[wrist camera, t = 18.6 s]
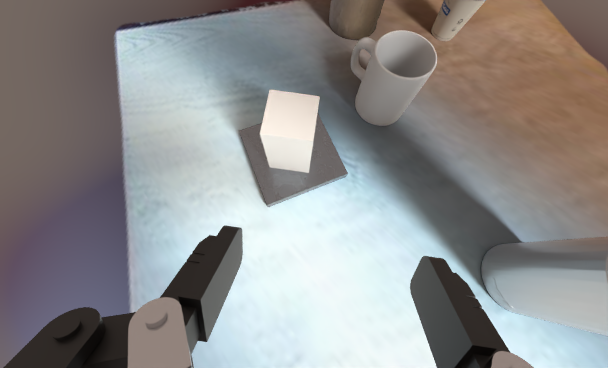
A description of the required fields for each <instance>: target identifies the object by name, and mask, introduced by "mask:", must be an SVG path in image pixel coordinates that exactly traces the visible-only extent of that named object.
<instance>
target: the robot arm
mask: <svg viewBox="0 0 608 368" xmlns="http://www.w3.org/2000/svg"><path fill="white" fill-rule="evenodd" d="M242 253H243V251H242V229H241V228H238V227H232V226H223V227H222V229H221V230H220V232H219V233H218V235H217V236H211V235H210V236H208V237H207V238H205V239H204V240H203V241H201V242H200V243H199V244H198V245H197V247H196V248H195V250H194V251H193V253H192V254H191V255H190V257H189V258H188V259H187V262H185V264H184V265H183V266H182V268H181V269H180V271H179V272H178V273H177V275H176V276H175V278H174V279H173V280H172V282H171V283H170V285H169V286H168V287H167V289H166V290H165V292H164V293H163V294H162V295H161V297H160V298H158V299H154V300H152V301H150V302H148V303H146V304H145V305H143V306H142V307H141V308H140V309H138V311H137V312H133V313H129V314H122V315H116V316H109V317H102V318H101V316H100V314H99V312H98V311H97V310H96V309H93V308H89V307H88V308H86V307H84V308H78V309H74V310H71V311H69V312H66V313H64V314H62V315H60V316H58V317H57V318H55V319H54V320H52V321H51V322H50V323H49V324H47V325H46V326H45V327H44V328H43V329H42V330H41V331H40V332H39V333H38V334H37V335H36V336H35V337H34V338H33V339H32V340H31V341H30V342H29V343H28V344H27V345H26V346H25V347H24V348H23V349H22V350H21V351H20V352H19V353H18V354H17V355H16V356H15V357H14V358H13V359H12V360H11V361H10V362H9V363H8V364H7V365H6V366H5V367H4V368H194V365H193V360H192V352H193V350H194V347H195V345H196V343H197V341H204V342H207V341H208V339H209V336H210V334H211V332H212V329H213V327H214V325H215V323H216V320H217V318H218V316H219V313H220V311H221V309H222V306H223V304H224V302H225V300H226V297H227V295H228V293H229V290H230V288H231V286H232V283H233V281H234V279H235V276H236V274H237V272H238V270H239V267H240V264H241V261H242ZM481 272H482V279H483V282H484V285H485V287H486V289H487V291H488V293H489V294H490V295H491V297H492V298H493V299H494V300H495V301H496V302H497V303H498V304H499V305H500V306H502V307H503V308H504V309H506V310H508V311H511V312H513V313H517V314H521V315H525V316H529V317H533V318H537V319H541V320H544V321H548V322H552V323H556V324H560V325H564V326H568V327H572V328H577V329H581V330H585V331H589V332H593V333H597V334H601V335H605V336H608V237H595V238H581V239H567V240H553V241H539V242H523V243H509V244H500V245H497V246H494V247H492V248H491V249H490V250H489V251H488V252H487V253H486V255H485V256H484V258H483V261H482V267H481ZM410 290H411V295H412V298H413V301H414V304H415V306H416V309H417V312H418V315H419V318H420V320H421V323H422V326H423V329H424V332H425V335H426V337H427V340H428V343H429V346H430V349H431V352H432V354H433V357H434V360H435V363H436V366H437V368H533V367H532V366H531V365H530V364H529V363H527V362H526V361H525V360H523V359H522V358H520V357H518V356H517V355H515V354H512V353H510V351H509V350H508V348H507V347H506V345H505V343H504V342H503V340H502V339H501V337H500V335H499V334H498V332H497V330H496V329H495V327H494V326H493V324H492V322H491V321H490V319H489V318H488V316H487V314H486V313H485V311H484V310H483V309H482V306H481V305H480V303H479V302H478V300H477V299H475V295H474V294H473V292H472V290H471V289H470V287H469V286H468V284H467V283H466V282H465V281H464V280H463V279H462V278H461V277H460V276H459V275H458V274H457V273H453V272H452V271H451V269H450V267H449V266H448V264H447V262H446V261H445V260H444V259H442V258H435V257H428V256H423V257H422V259H421V260H420V263H419V265H418V267H417V269H416V271H415V273H414V275H413V277H412V280H411V284H410Z"/></svg>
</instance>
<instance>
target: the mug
mask: <svg viewBox="0 0 608 368" xmlns="http://www.w3.org/2000/svg"><path fill="white" fill-rule="evenodd" d="M362 48H363V49H365V50H367V51H368V52H369V53H370V55H371V57H370V60H369V63H368V66H367V69H366V70H365V69H363V68H362V67H361V66H360V64H359V53H360V51H361V49H362ZM436 64H437V54H436V51H435V49H434V47H433V46H432V44H431V43H430V42H429V41H428V40H427V39H425V38H424V37H423V36H421V35H419V34H417V33H414V32H411V31H404V30H398V31H392V32H389V33H387V34H385V35H383V36H382V37H381V38H380V39H379V40H378V41H377V42H376V41H374V40H373V39H371V38H367V37H364V38H362V39H360V40H359V41H358V42H357V44H356V45H355V47H354V50H353V52H352V56H351V69H352V71H353V73H354V74H355V75H356V76H357V77H358V78H359V79H360V80H361V84H360V87H359V90H358V92H357V95H356V99H355V107H356V110H357V112H358V114H359V115H360V116H361V118H362V119H364V120H365V121H366V122H368V123H370V124H373V125H377V126H386V125H390V124H392V123H394V122H396V121H397V120H398V119H399V118H400V117H401V116H402V114H403V113H404V111H405V110H406V108H407V107H408V105H409V104H410V103H411V101H412V100H413V98H414V97H415V96H416V94H417V93H418V92H419V90H420V89H421V87H422V86H423V85H424V83H425V82H426V81H427V79H428V78H429V77H430V75H431V74H432V72H433V71H434V69H435V67H436Z"/></svg>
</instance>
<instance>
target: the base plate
mask: <svg viewBox="0 0 608 368" xmlns="http://www.w3.org/2000/svg"><path fill="white" fill-rule="evenodd" d="M261 126H262V123H261V124H258V125H255V126H252V127H249V128H246V129H243V130H240V131H239V132H240V135H241V137H242V140H243V143H244V145H245V148H246V151H247V153H248V156H249V159H250V161H251V164H252V167H253V169H254V172H255V175H256V177H257V180H258V183H259V185H260V188H261V191H262V193H263V196H264V199H265V201H266V204H267V206H268V207H270V206H273V205H275V204H278V203H280V202H283V201H285V200H288V199H291V198H293V197H296V196H298V195H301V194H303V193H306V192H308V191H311V190H314V189H316V188H319V187H321V186H324V185H326V184H329V183H331V182H334V181H336V180H339V179H342V178H344V177H346V176H347V174H348V173H347V171H346V169H345V167H344V165H343V163H342V161H341V159H340V157H339V155H338V153H337V151H336V149H335V147H334V145H333V143H332V141H331V139H330V137H329V135H328V133H327V131H326V129H325V127H324V125H323V123H322V121H321V118H320V116H319V114H318V112H317V119H316V126H315V133H314V140H313V147H312V154H311V161H310V168H309V173H306V172H299V171H292V170H285V169H278V168H271V167H269V163H268V160H267V157H266V153H265V150H264V146H263V143H262V140H261V136H260V130H261Z"/></svg>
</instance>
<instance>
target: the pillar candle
mask: <svg viewBox="0 0 608 368" xmlns="http://www.w3.org/2000/svg"><path fill="white" fill-rule="evenodd" d="M383 3H384V0H331V6H330V14H329V24H330V27H331V28H332V30H333V31H334V32H335V33H336V34H338V35H340V36H341V37H344V38H348V39H357V40H358V39H362V38H364V37H368V36H370V35H371V34H372V33H373V32H374V30H375V29H376V25H377V20H378V18H379V16H380V13H381V9H382V6H383Z"/></svg>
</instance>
